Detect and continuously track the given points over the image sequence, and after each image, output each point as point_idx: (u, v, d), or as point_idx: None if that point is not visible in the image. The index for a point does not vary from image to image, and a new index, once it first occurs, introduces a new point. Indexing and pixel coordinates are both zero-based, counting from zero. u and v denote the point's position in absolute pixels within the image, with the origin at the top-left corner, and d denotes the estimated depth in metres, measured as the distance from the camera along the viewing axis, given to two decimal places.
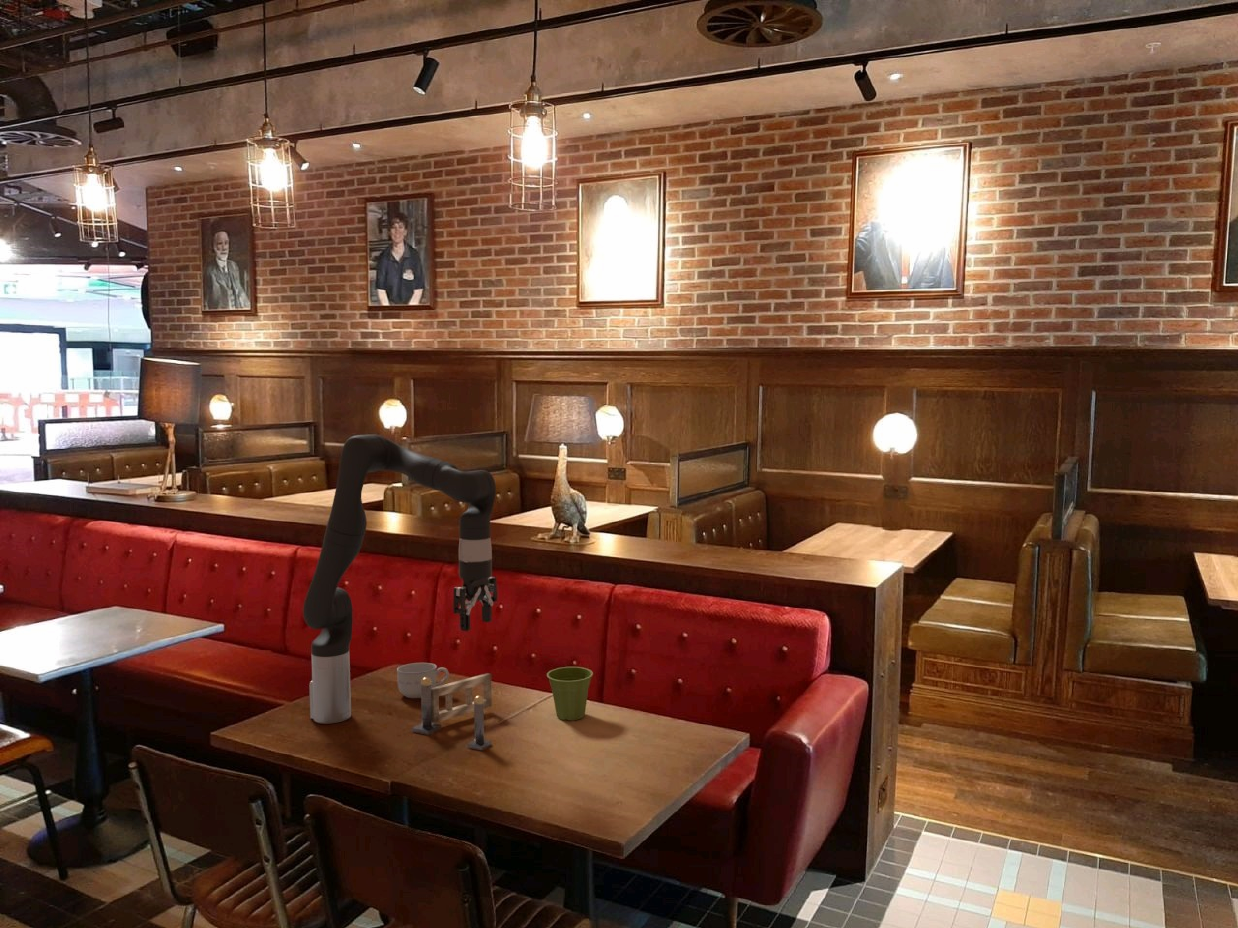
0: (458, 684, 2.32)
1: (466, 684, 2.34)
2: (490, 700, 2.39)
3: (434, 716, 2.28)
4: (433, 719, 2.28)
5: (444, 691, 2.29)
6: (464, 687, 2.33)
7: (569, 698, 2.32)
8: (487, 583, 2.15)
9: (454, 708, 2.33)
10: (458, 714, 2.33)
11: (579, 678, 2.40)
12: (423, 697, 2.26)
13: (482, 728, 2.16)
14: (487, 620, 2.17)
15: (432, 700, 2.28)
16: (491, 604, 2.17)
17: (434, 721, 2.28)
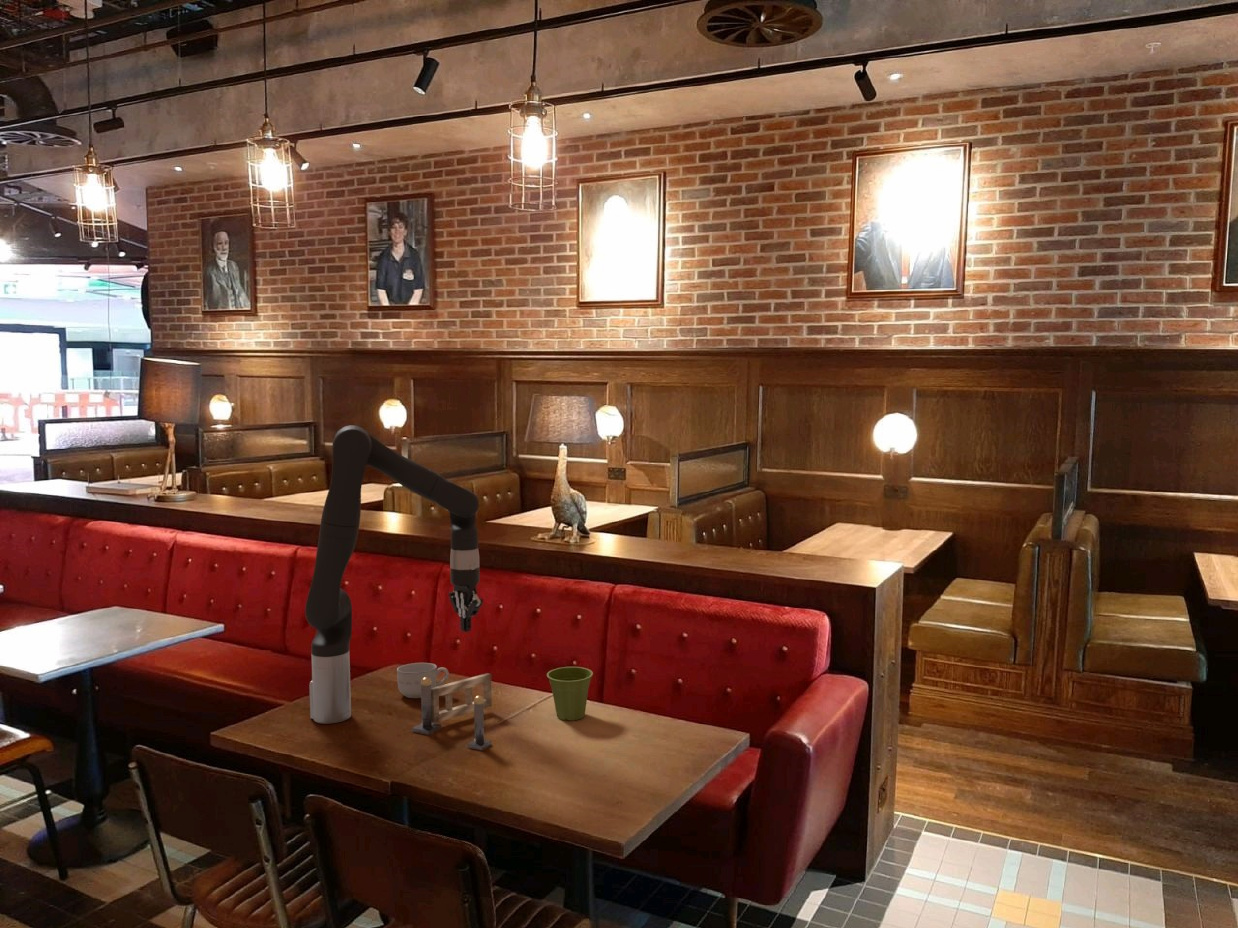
0: (458, 684, 2.32)
1: (466, 684, 2.34)
2: (490, 700, 2.39)
3: (434, 716, 2.28)
4: (433, 719, 2.28)
5: (444, 691, 2.29)
6: (464, 687, 2.33)
7: (569, 698, 2.32)
8: None
9: (454, 708, 2.33)
10: (458, 714, 2.33)
11: (579, 678, 2.40)
12: (423, 697, 2.26)
13: (482, 728, 2.16)
14: None
15: (432, 700, 2.28)
16: None
17: (434, 721, 2.28)
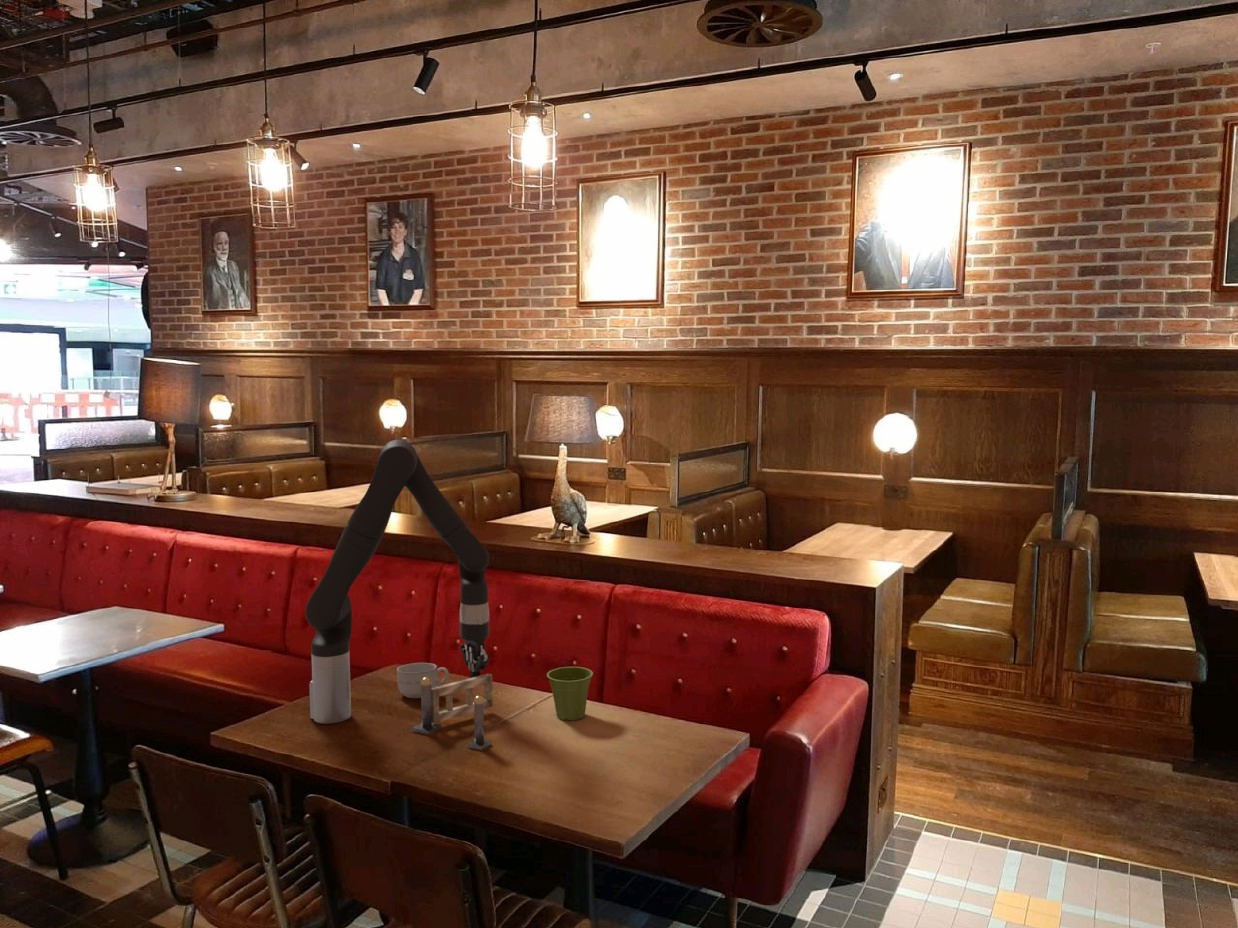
0: (458, 684, 2.32)
1: (467, 684, 2.34)
2: (491, 701, 2.39)
3: (434, 716, 2.28)
4: (433, 719, 2.28)
5: (444, 691, 2.29)
6: (465, 687, 2.33)
7: (569, 698, 2.32)
8: None
9: (454, 708, 2.32)
10: (458, 714, 2.33)
11: (579, 678, 2.40)
12: (423, 697, 2.26)
13: (482, 728, 2.16)
14: None
15: (432, 700, 2.28)
16: None
17: (434, 721, 2.28)
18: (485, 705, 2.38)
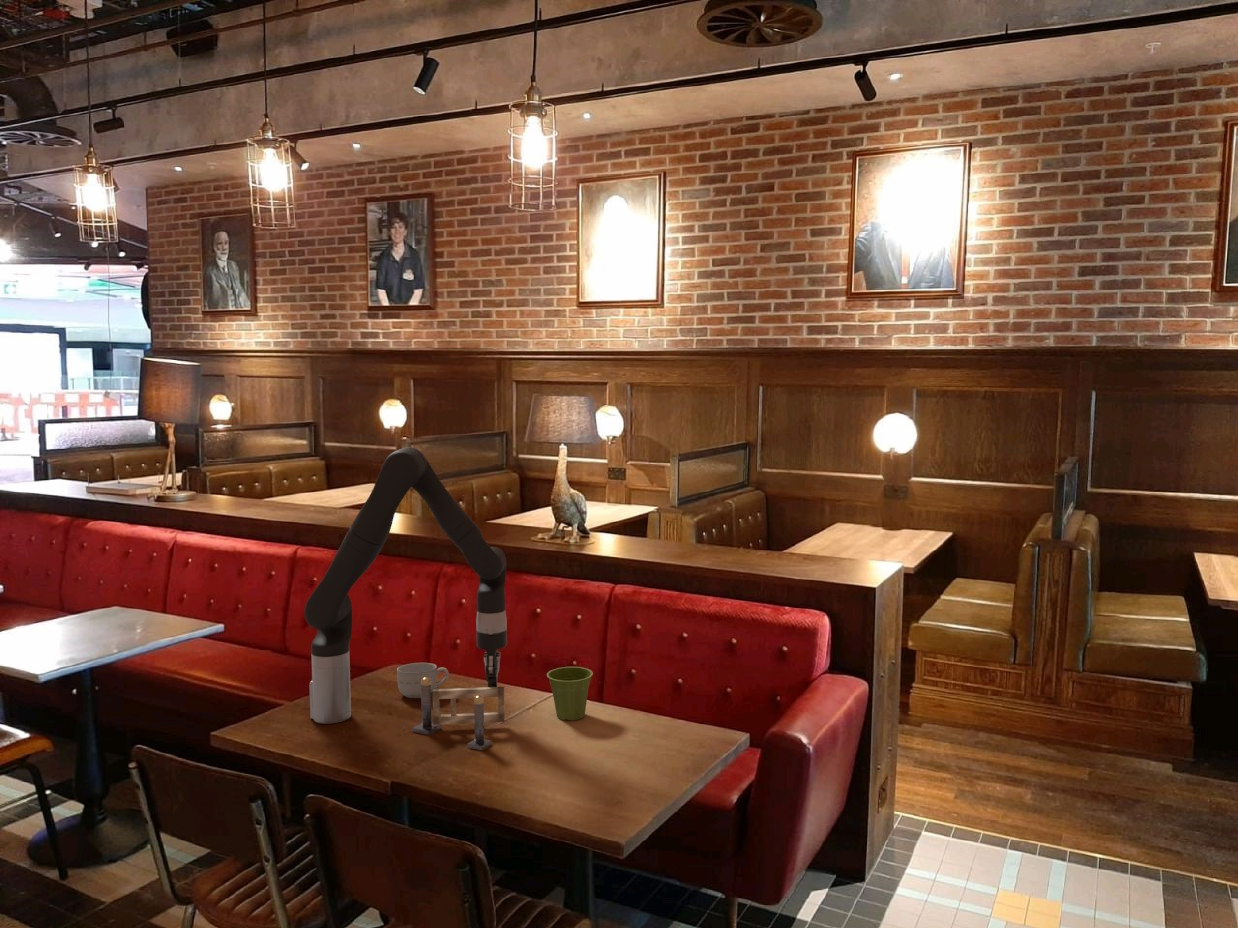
0: (462, 691, 2.27)
1: (472, 693, 2.27)
2: (502, 716, 2.28)
3: (433, 718, 2.27)
4: (433, 721, 2.27)
5: (445, 695, 2.26)
6: (470, 696, 2.27)
7: (569, 698, 2.32)
8: None
9: (459, 715, 2.28)
10: (462, 722, 2.27)
11: (579, 678, 2.40)
12: (423, 697, 2.26)
13: (482, 728, 2.16)
14: None
15: None
16: (497, 677, 2.32)
17: (433, 723, 2.27)
18: (495, 719, 2.28)
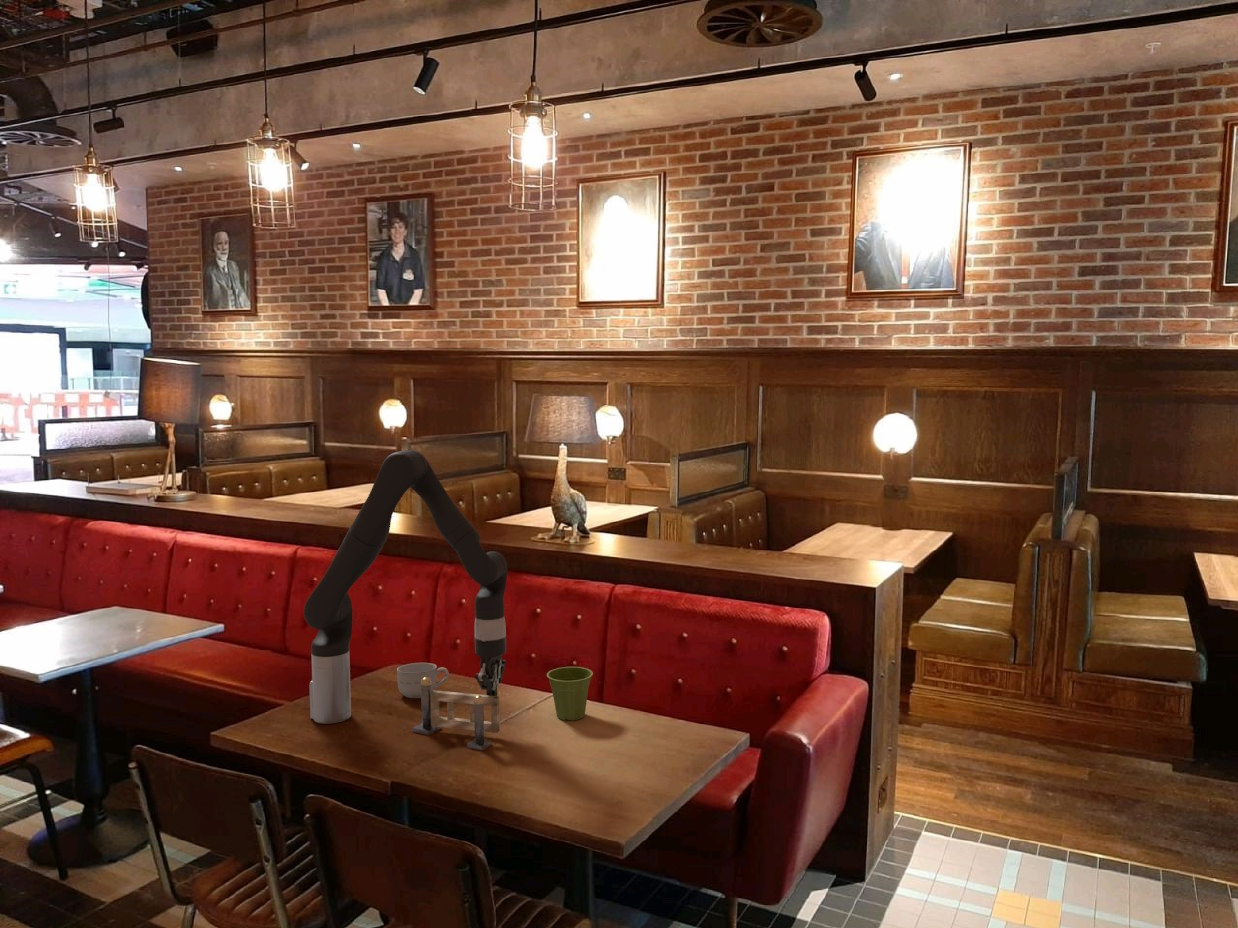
0: (458, 696, 2.23)
1: (467, 699, 2.23)
2: (495, 726, 2.21)
3: (432, 719, 2.26)
4: None
5: (442, 697, 2.25)
6: (464, 701, 2.23)
7: (569, 698, 2.32)
8: (500, 658, 2.27)
9: (456, 719, 2.25)
10: (458, 727, 2.24)
11: (579, 678, 2.40)
12: (423, 697, 2.26)
13: (482, 728, 2.16)
14: None
15: None
16: (497, 686, 2.25)
17: (432, 724, 2.26)
18: (488, 728, 2.22)
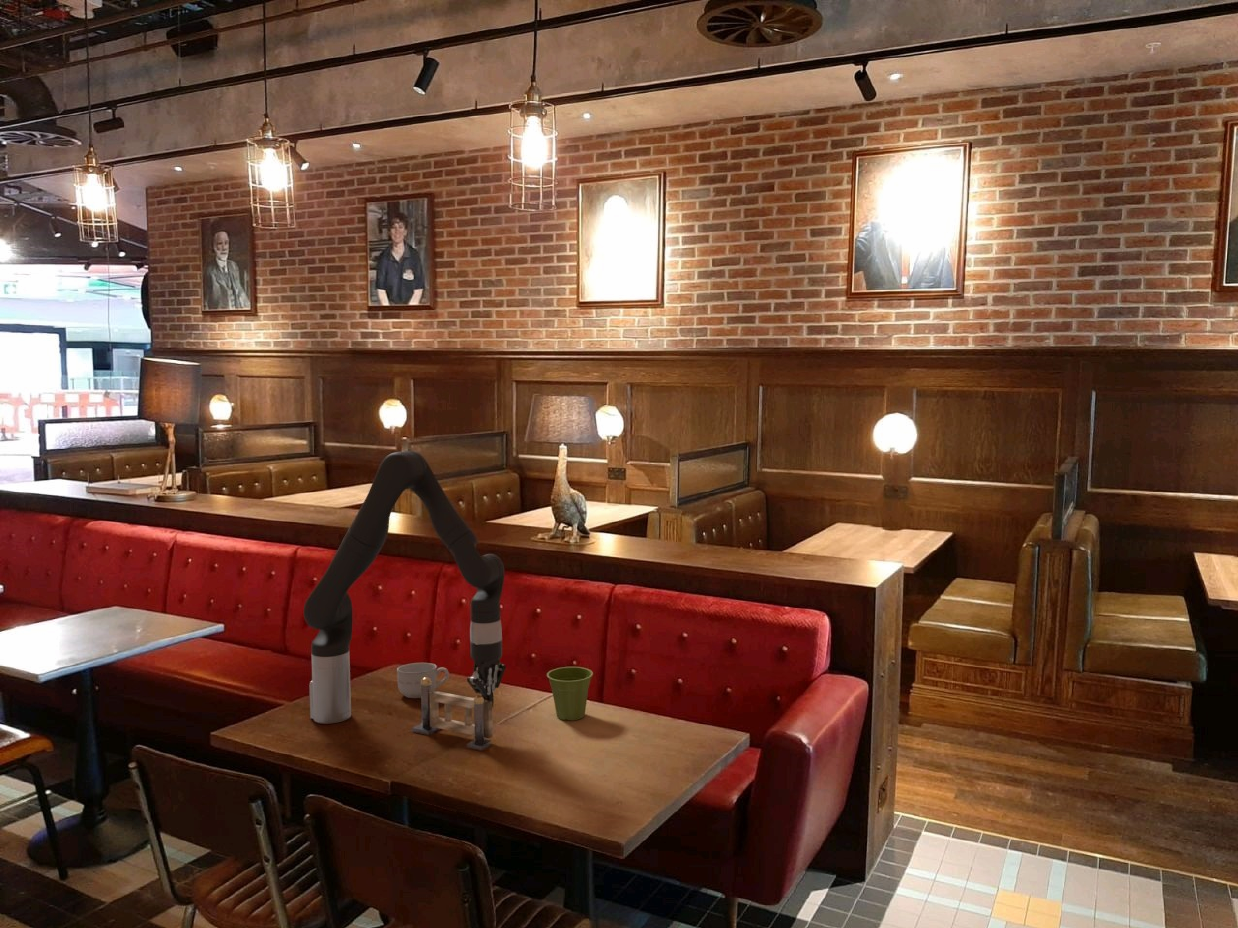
0: (453, 698, 2.22)
1: (462, 702, 2.21)
2: (487, 731, 2.18)
3: (430, 719, 2.26)
4: None
5: (440, 699, 2.24)
6: (459, 704, 2.21)
7: (569, 698, 2.32)
8: (498, 662, 2.23)
9: (452, 721, 2.23)
10: (453, 729, 2.23)
11: (579, 678, 2.40)
12: (423, 697, 2.26)
13: (482, 728, 2.16)
14: None
15: None
16: (493, 691, 2.22)
17: (430, 724, 2.26)
18: None
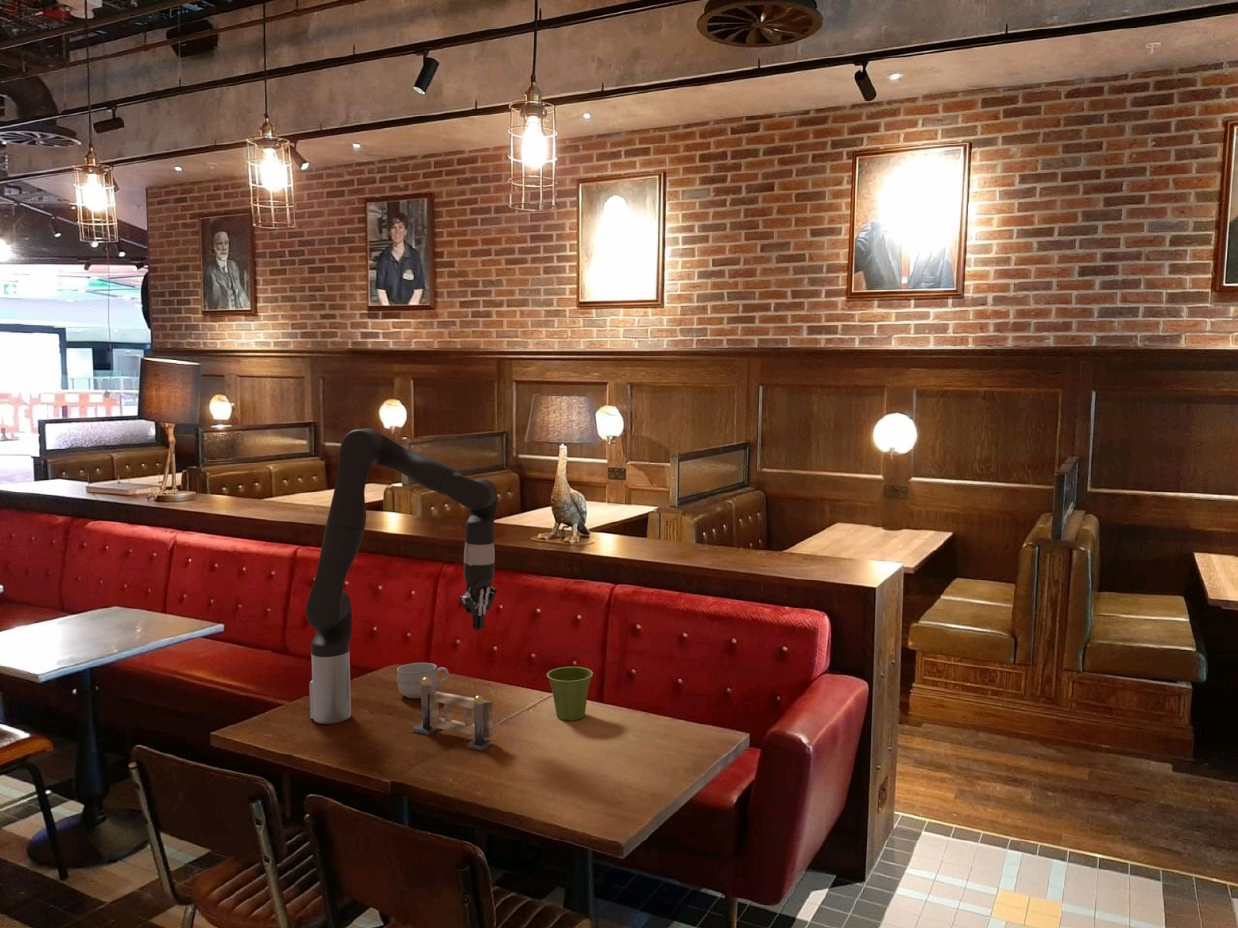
0: (453, 698, 2.22)
1: (462, 702, 2.21)
2: (487, 731, 2.18)
3: (430, 719, 2.26)
4: None
5: (440, 699, 2.24)
6: (459, 704, 2.21)
7: (569, 698, 2.32)
8: (489, 585, 2.30)
9: (452, 721, 2.23)
10: (453, 729, 2.23)
11: (579, 678, 2.40)
12: (423, 697, 2.26)
13: (482, 728, 2.16)
14: None
15: None
16: (483, 612, 2.29)
17: (430, 724, 2.26)
18: None
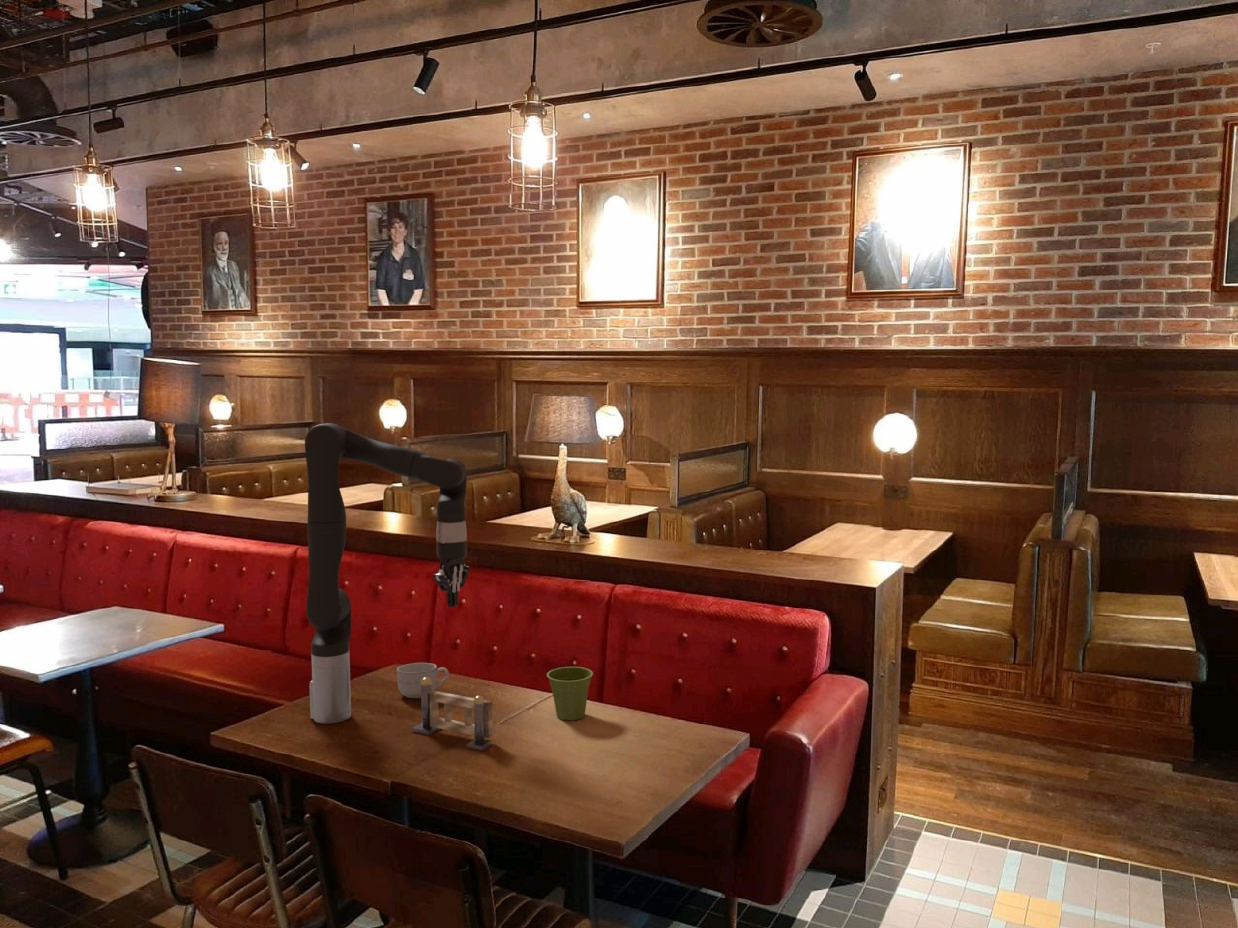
0: (453, 698, 2.22)
1: (462, 702, 2.21)
2: (487, 731, 2.18)
3: (430, 719, 2.26)
4: None
5: (440, 699, 2.24)
6: (459, 704, 2.21)
7: (569, 698, 2.32)
8: (462, 563, 2.35)
9: (452, 721, 2.23)
10: (453, 729, 2.23)
11: (579, 678, 2.40)
12: (423, 697, 2.26)
13: (482, 728, 2.16)
14: None
15: None
16: (458, 589, 2.33)
17: (430, 724, 2.26)
18: None
